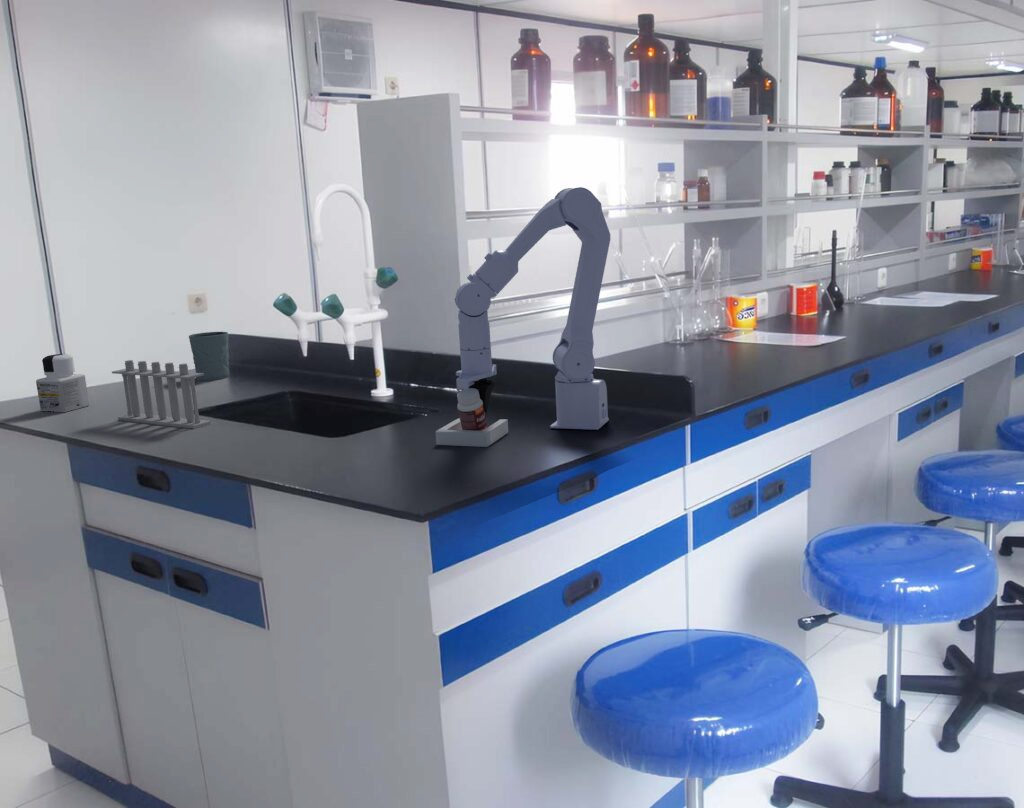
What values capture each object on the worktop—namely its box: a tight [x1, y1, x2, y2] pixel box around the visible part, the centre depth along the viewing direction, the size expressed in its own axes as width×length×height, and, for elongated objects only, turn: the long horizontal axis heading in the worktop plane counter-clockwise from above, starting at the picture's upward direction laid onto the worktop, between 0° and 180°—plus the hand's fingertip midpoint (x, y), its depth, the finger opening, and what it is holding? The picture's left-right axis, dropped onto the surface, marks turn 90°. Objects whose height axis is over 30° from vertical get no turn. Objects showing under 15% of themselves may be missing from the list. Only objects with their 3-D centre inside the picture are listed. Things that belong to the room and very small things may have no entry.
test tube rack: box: [111, 359, 211, 430], centre depth 203 cm, size 25×4×13 cm, turn 58°
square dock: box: [435, 417, 509, 448], centre depth 175 cm, size 10×10×2 cm
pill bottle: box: [456, 388, 488, 431], centre depth 174 cm, size 5×5×8 cm
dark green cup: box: [188, 331, 230, 382], centre depth 257 cm, size 10×10×12 cm
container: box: [35, 353, 90, 413], centre depth 224 cm, size 8×8×13 cm
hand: (480, 419), depth 178 cm, fingers closed
